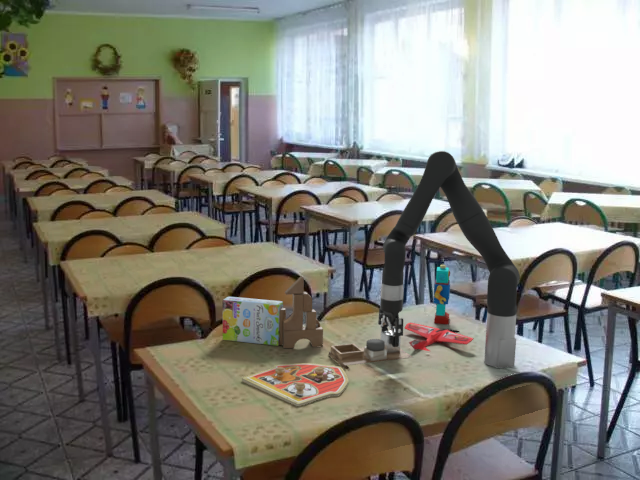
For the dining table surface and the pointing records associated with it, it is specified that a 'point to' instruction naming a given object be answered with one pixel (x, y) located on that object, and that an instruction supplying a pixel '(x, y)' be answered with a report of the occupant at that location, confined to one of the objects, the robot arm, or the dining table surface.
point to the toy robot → (441, 294)
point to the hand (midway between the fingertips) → (389, 342)
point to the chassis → (362, 355)
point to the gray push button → (375, 344)
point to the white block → (389, 341)
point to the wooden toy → (299, 319)
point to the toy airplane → (435, 336)
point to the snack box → (251, 320)
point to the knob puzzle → (300, 382)
